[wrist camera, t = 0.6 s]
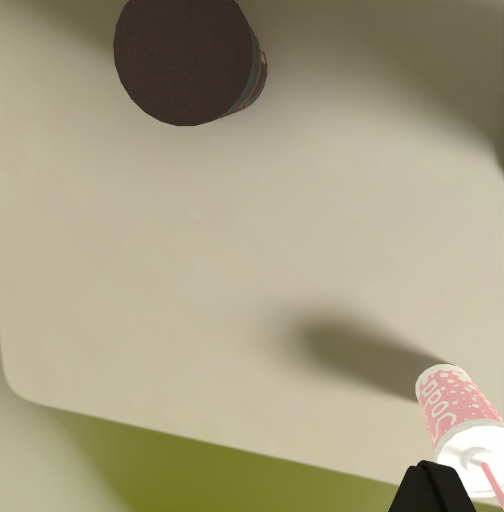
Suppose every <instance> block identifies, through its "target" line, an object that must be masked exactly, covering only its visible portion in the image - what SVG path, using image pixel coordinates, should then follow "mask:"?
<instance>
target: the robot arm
mask: <svg viewBox="0 0 504 512" xmlns="http://www.w3.org/2000/svg"><path fill="white" fill-rule="evenodd" d="M388 512H476V510H475V508H474V506H473V504H472V502H471V500H470V498H469V496H468V493H467V491H466V489H465V487H464V485H463V483H462V481H461V479H460V477H459V475H458V473H457V471H456V470H455V469H454V468H453V467H451V466H446V465H442V464H438V463H434V462H430V461H426V460H422V461H420V462H419V463H418V464H417V466H410V467H409V468H408V469H407V471H406V473H405V475H404V478H403V480H402V482H401V484H400V487H399V489H398V491H397V493H396V496H395V498H394V500H393V503H392V505H391V507H390V509H389V511H388Z"/></svg>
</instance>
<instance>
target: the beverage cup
mask: <svg viewBox="0 0 504 512" xmlns="http://www.w3.org/2000/svg"><path fill="white" fill-rule="evenodd" d="M416 396H417V399H418V402H419V405H420V408H421V411H422V414H423V417H424V421H425V424H426V427H427V430H428V433H429V436H430V439H431V442H432V445H433V448H434V452H435V463H438V464H442V465H446V466H451V467H453V468H454V469H455V470H456V471H457V473H458V475H459V477H460V479H461V481H462V483H463V485H464V487H465V489H466V491H467V493H468V496H469V497H472V498H478V497H492V496H495V495H496V497H497V498H498V500H499V502H500V504H501V506H502V508H503V510H504V494H503V492H504V421H503V419H502V418H501V417H500V416H499V414H498V413H497V412H496V411H495V409H494V408H493V407H492V405H491V404H490V403H489V402H488V400H487V399H486V398H485V397H484V395H483V394H482V393H481V391H480V390H479V389H478V388H477V386H476V385H475V384H474V383H473V381H472V380H471V379H470V377H469V376H468V375H467V374H466V372H464V371H463V370H462V369H460V368H459V367H458V366H454V365H450V364H439V365H435V366H433V367H430V368H428V369H426V370H425V371H424V372H423V373H422V374H421V375H420V376H419V378H418V380H417V382H416Z"/></svg>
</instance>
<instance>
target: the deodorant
mask: <svg viewBox="0 0 504 512" xmlns="http://www.w3.org/2000/svg"><path fill="white" fill-rule="evenodd" d="M113 46H114V58H115V66H116V69H117V72H118V75H119V78H120V81H121V83H122V85H123V86H124V88H125V90H126V91H127V93H128V95H129V96H130V98H131V99H132V100H133V101H134V102H135V103H136V104H137V105H138V106H139V107H140V108H141V109H142V110H143V111H144V112H145V113H147V114H149V115H150V116H152V117H154V118H155V119H157V120H159V121H161V122H165V123H168V124H172V125H175V126H197V125H200V124H204V123H207V122H211V121H214V120H216V119H219V118H222V117H225V116H227V115H230V114H233V113H236V112H238V111H241V110H243V109H245V108H246V107H248V106H250V105H251V104H252V103H253V102H254V101H255V100H256V99H257V98H258V97H259V95H260V93H261V91H262V89H263V88H264V84H265V81H266V77H267V63H266V58H265V54H264V51H263V50H262V48H261V46H260V44H259V42H258V40H257V38H256V36H255V35H254V33H253V31H252V29H251V27H250V25H249V24H248V22H247V20H246V18H245V16H244V14H243V13H242V11H241V9H240V7H239V5H238V4H237V3H236V2H235V1H234V0H129V1H128V2H127V4H126V5H125V6H124V8H123V11H122V13H121V15H120V18H119V20H118V22H117V25H116V31H115V37H114V43H113Z"/></svg>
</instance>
